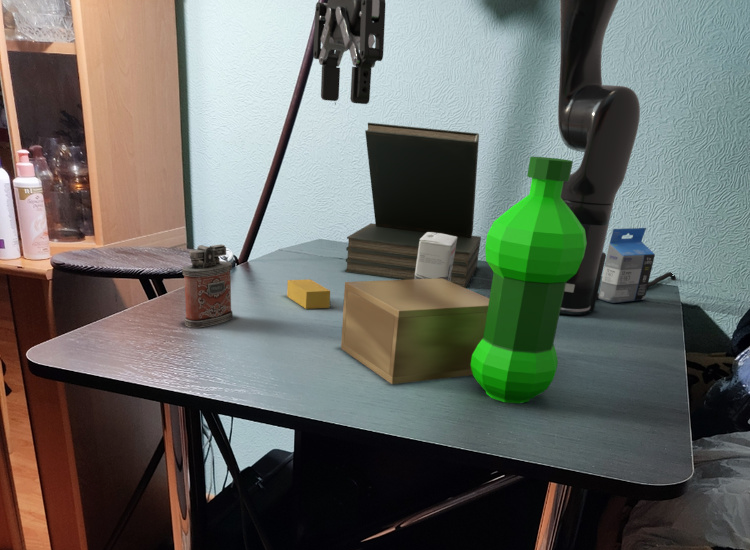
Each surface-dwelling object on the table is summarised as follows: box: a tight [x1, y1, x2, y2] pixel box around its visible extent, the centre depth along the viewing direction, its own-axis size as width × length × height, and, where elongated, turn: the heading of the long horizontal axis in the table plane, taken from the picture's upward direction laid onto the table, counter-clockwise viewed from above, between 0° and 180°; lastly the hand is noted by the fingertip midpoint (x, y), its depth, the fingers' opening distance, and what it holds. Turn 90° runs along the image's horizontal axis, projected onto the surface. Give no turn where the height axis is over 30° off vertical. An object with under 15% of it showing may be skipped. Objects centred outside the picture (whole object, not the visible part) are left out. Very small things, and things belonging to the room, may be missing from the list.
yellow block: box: [286, 278, 331, 310], centre depth 113 cm, size 4×8×3 cm, turn 28°
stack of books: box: [344, 122, 482, 289], centre depth 135 cm, size 23×20×25 cm
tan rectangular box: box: [340, 278, 490, 385], centre depth 90 cm, size 15×14×9 cm
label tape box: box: [597, 227, 656, 304], centre depth 130 cm, size 9×4×12 cm, turn 123°
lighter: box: [182, 244, 233, 329], centre depth 98 cm, size 8×3×10 cm, turn 148°
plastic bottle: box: [471, 156, 587, 405], centre depth 78 cm, size 10×10×25 cm
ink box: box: [414, 232, 457, 281], centre depth 108 cm, size 9×5×12 cm, turn 168°
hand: (344, 102), depth 89 cm, fingers open, 8 cm apart
